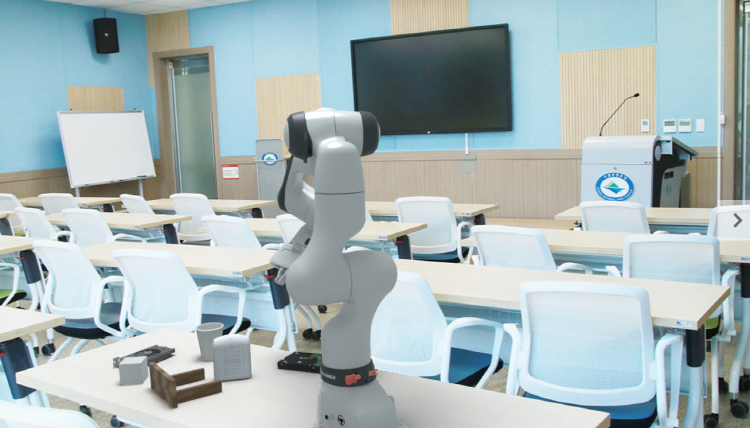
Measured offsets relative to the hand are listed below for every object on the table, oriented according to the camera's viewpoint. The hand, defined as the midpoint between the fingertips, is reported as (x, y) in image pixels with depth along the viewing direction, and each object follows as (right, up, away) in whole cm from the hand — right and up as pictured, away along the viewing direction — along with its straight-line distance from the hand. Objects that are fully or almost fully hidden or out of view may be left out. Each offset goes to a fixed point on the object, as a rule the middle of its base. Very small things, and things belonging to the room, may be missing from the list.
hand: (278, 283), depth 189 cm
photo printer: (-12, -26, -4) cm, 29 cm away
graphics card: (-41, -26, +13) cm, 50 cm away
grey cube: (-39, -27, -3) cm, 48 cm away
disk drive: (+8, -25, +3) cm, 26 cm away
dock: (-22, -27, -13) cm, 37 cm away
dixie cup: (-22, -24, +14) cm, 36 cm away
